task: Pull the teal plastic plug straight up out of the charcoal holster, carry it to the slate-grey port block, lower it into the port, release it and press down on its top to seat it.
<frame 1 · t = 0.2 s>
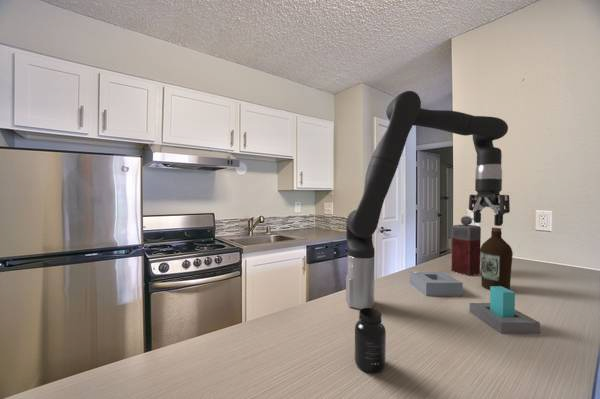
hand: (487, 224, 90), 28 cm above the countertop, tool pointing down, fingers open, 8 cm apart
plug: (501, 305, 78), in the holster
port: (434, 289, 105), on the countertop
red canister: (466, 272, 129), on the countertop
brown glass bottle: (495, 288, 107), on the countertop
supplement bottle: (369, 364, 59), on the countertop
holster: (501, 321, 78), on the countertop
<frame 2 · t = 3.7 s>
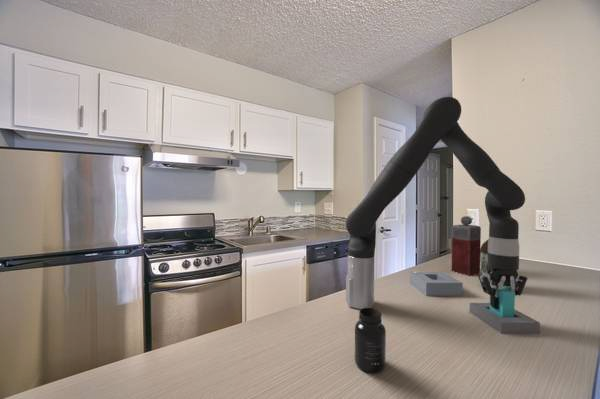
hand: (501, 308, 78), 4 cm above the countertop, tool pointing down, fingers closed on plug, 3 cm apart
plug: (501, 305, 78), in the holster, touching gripper
everything else where it was.
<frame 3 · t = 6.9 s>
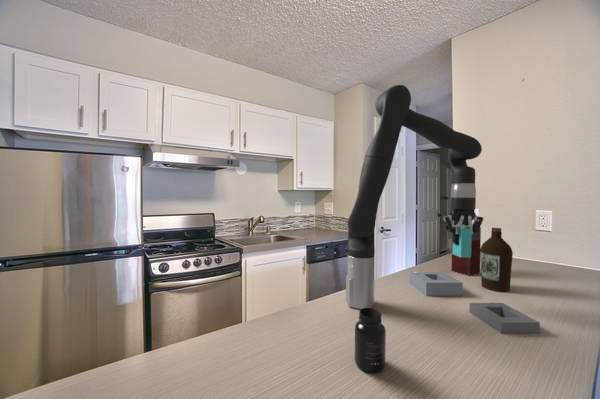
hand: (461, 244, 92), 21 cm above the countertop, tool pointing down, fingers closed on plug, 3 cm apart
plug: (461, 241, 92), point 22 cm above the countertop, touching gripper
everything else where it was.
when the fingers open (6 cm above the countertop, at t = 10.2 s): plug drops 2 cm, resting in port.
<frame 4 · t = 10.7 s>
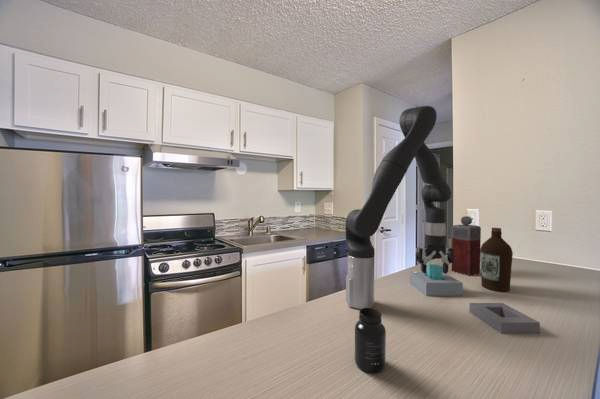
hand: (434, 273, 105), 7 cm above the countertop, tool pointing down, fingers open, 8 cm apart
plug: (434, 276, 105), in the port
everything else where it was.
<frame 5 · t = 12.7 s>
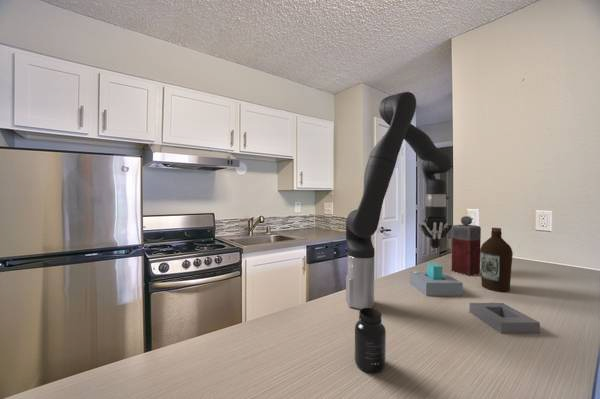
hand: (435, 247, 105), 17 cm above the countertop, tool pointing down, fingers closed
nothing on the countertop moved.
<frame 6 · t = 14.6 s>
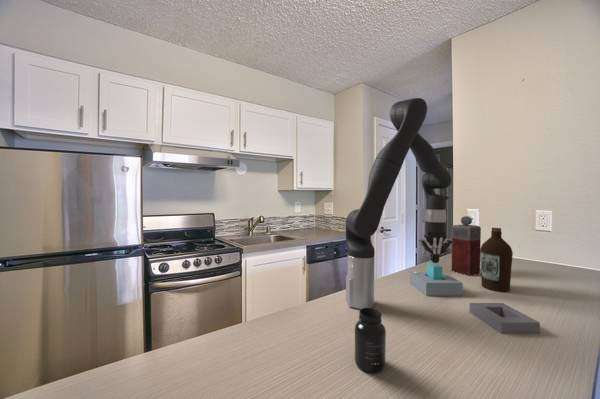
hand: (435, 262, 105), 11 cm above the countertop, tool pointing down, fingers closed
nothing on the countertop moved.
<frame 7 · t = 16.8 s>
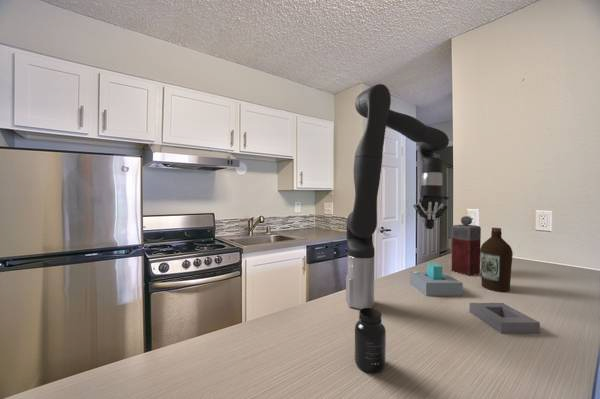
hand: (429, 228, 101), 25 cm above the countertop, tool pointing down, fingers closed
nothing on the countertop moved.
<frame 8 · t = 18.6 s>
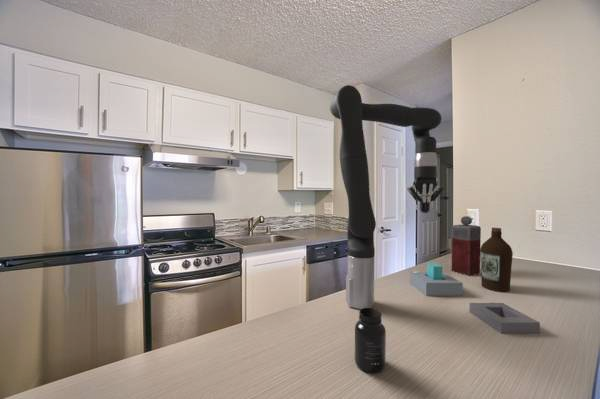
hand: (424, 212, 95), 32 cm above the countertop, tool pointing down, fingers closed
nothing on the countertop moved.
at the end: plug 0.0 cm off-centre on the port, point 5.0 cm above the port's base; plug tilted 0°; the gripper is holding nothing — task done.
